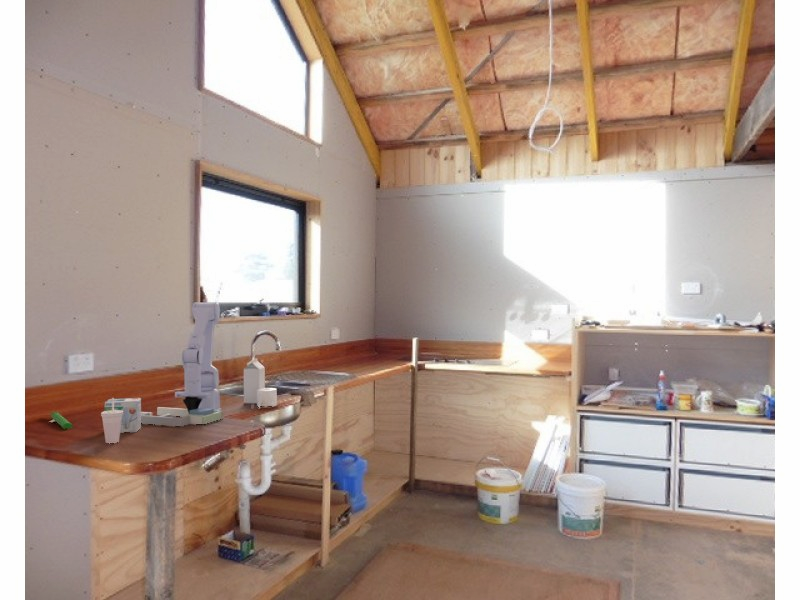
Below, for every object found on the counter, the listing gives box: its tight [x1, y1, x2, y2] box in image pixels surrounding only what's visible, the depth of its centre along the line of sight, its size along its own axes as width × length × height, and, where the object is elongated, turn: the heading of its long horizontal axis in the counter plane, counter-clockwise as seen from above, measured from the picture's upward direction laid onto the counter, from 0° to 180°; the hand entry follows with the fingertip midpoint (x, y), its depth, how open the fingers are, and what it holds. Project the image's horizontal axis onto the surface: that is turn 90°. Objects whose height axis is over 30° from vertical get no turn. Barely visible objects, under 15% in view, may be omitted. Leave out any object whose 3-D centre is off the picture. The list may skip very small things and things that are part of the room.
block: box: [190, 408, 214, 416], centre depth 215 cm, size 6×6×4 cm
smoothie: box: [100, 397, 123, 445], centre depth 184 cm, size 6×6×14 cm
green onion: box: [49, 410, 73, 430], centre depth 214 cm, size 5×3×30 cm
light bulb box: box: [104, 397, 142, 434], centre depth 200 cm, size 11×7×11 cm, turn 105°
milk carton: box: [243, 357, 266, 404], centre depth 255 cm, size 7×7×19 cm
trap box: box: [141, 406, 223, 427], centre depth 216 cm, size 16×29×3 cm, turn 72°
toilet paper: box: [256, 387, 278, 410], centre depth 246 cm, size 8×11×7 cm
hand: (192, 417), depth 217 cm, fingers closed
